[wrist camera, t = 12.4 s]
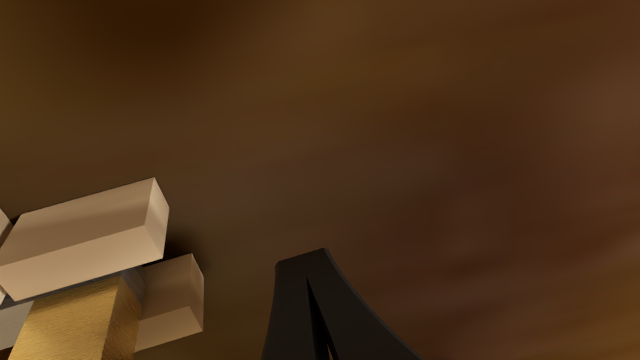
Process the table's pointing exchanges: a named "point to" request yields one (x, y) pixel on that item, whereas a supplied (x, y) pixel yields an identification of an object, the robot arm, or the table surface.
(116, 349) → the pin
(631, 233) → the table surface
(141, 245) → the dock
